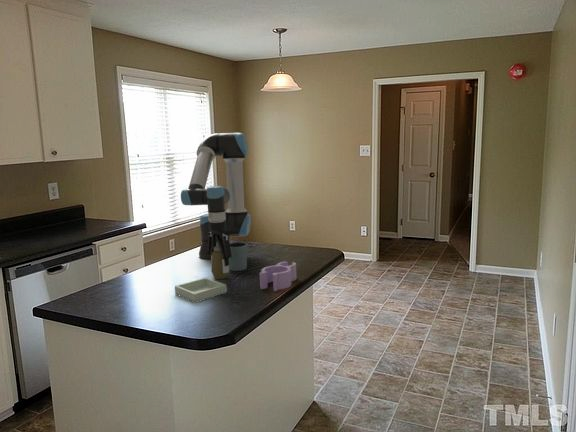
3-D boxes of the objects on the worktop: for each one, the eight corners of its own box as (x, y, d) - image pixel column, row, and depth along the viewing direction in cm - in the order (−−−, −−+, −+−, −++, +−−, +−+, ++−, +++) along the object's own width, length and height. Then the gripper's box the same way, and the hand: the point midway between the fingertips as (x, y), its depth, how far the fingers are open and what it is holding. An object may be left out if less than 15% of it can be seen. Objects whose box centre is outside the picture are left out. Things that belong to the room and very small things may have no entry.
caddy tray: (175, 294, 189) (174, 286, 189) (206, 285, 199) (206, 277, 198) (194, 302, 178) (194, 294, 178) (226, 293, 188) (226, 284, 188)
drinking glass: (250, 265, 227) (248, 241, 225) (246, 271, 217) (244, 246, 215) (229, 265, 228) (228, 242, 226) (225, 271, 219) (223, 246, 217)
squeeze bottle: (228, 280, 205) (226, 240, 202) (210, 280, 205) (207, 241, 202) (231, 274, 213) (228, 236, 210) (213, 275, 213) (211, 237, 210)
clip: (279, 275, 210) (278, 260, 209) (303, 278, 204) (302, 263, 203) (254, 288, 193) (254, 272, 192) (280, 292, 187) (280, 275, 186)
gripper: (197, 219, 210) (200, 268, 214) (223, 225, 195) (227, 277, 199) (211, 217, 215) (214, 264, 219) (238, 222, 200) (241, 273, 204)
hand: (220, 270), depth 209 cm, fingers closed on squeeze bottle, 8 cm apart
